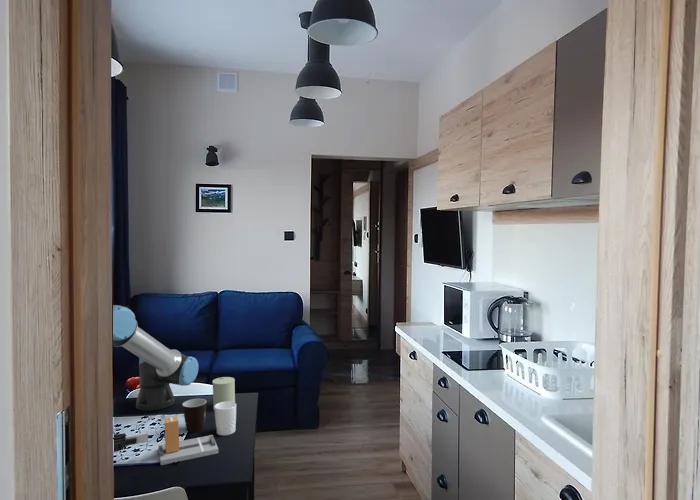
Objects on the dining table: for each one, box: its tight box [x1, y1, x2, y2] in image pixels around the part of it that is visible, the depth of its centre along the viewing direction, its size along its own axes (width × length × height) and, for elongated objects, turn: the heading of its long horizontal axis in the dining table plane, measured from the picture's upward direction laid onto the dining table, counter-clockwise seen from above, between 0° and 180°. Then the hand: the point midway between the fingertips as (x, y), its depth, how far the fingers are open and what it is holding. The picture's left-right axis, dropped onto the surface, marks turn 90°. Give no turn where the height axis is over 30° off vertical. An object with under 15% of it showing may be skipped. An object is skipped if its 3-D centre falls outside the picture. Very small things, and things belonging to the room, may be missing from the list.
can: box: [211, 376, 236, 411], centre depth 200 cm, size 9×9×12 cm
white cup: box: [213, 401, 237, 436], centre depth 175 cm, size 8×8×10 cm
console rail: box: [157, 434, 219, 466], centre depth 160 cm, size 12×18×2 cm, turn 115°
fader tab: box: [164, 416, 180, 453], centre depth 158 cm, size 4×4×10 cm
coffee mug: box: [182, 398, 208, 433], centre depth 180 cm, size 12×9×10 cm
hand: (147, 436), depth 155 cm, fingers closed
